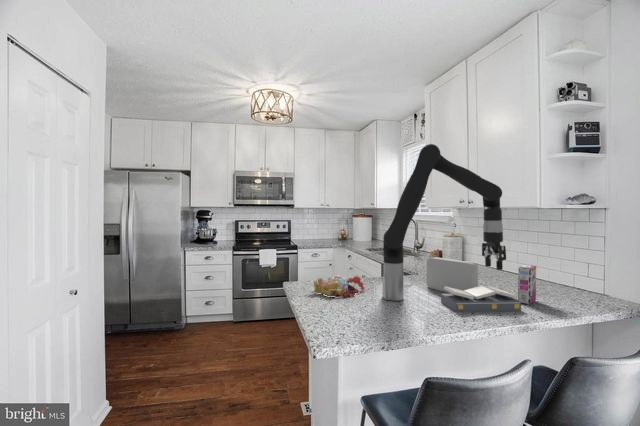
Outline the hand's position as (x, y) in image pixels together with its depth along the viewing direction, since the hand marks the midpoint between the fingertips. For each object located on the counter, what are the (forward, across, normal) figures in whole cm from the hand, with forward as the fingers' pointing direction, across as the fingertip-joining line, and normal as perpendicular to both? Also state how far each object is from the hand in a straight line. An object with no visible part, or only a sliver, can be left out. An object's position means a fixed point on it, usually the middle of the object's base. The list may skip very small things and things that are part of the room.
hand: (493, 268), depth 140 cm
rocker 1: (+10, 0, -16) cm, 19 cm away
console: (+17, 0, -7) cm, 18 cm away
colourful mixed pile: (+16, -27, -66) cm, 73 cm away
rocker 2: (+10, 0, -7) cm, 12 cm away
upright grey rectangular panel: (+17, -26, -7) cm, 32 cm away
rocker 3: (+11, 0, +3) cm, 11 cm away
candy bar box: (+17, -6, +19) cm, 27 cm away
